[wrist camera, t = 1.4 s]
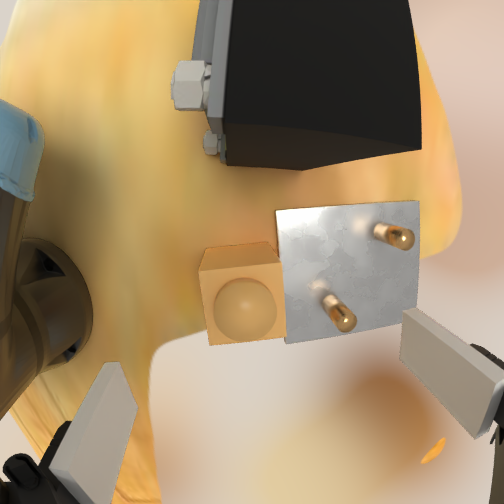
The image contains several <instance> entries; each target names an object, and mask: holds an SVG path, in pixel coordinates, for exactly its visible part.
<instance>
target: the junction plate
mask: <svg viewBox="0 0 504 504" xmlns="http://www.w3.org/2000/svg"><path fill="white" fill-rule="evenodd" d="M275 215H276V227H277V240H278V253H279V259H280V260H281V262H282V269H283V284H284V299H285V315H286V332H287V337H284V340H285V343H286V344H290V343H297V342H304V341H311V340H317V339H323V338H329V337H334V336H340V335H346V334H351V333H356V332H361V331H366V330H371V329H376V328H380V327H385V326H390V325H395V324H399V323H402V315H403V311H404V310H407V309H411V308H414V307H416V305H417V293H418V277H419V253H420V209H419V201H396V202H379V203H363V204H348V205H334V206H321V207H308V208H296V209H285V210H275ZM381 222H384V223H388V224H392V225H396V226H399V227H403V228H407V229H410V230H412V231H413V233H414V235H415V243H414V245H413V247H412V248H411V249H410V250H408V251H403V250H401V249H398V248H396V247H393V246H391V245H388V244H386V243H383V242H381V241H378V240H377V239H376V238H375V236H374V228H375V226H376V225H377V224H378V223H381ZM328 295H336V296H337V297H338V298H339V299H340V300H341V301H342V302H343V303H344V304H345V305H346V306H347V307H348V308H349V309H350V310H351V311H352V312H353V313H354V314H355V316H356V317H357V324H356V327H355V328H354V329H353V330H352V331H350V332H347V333H343V332H340V331H339V330H338V329H337V327H336V326H335V325H334V323H333V322H332V321H331V319H330V318H329V317H328V315H327V314H326V313H325V311H324V310H323V309H322V301H323V299H324V298H325V297H326V296H328Z"/></svg>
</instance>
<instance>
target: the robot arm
mask: <svg viewBox="0 0 504 504" xmlns="http://www.w3.org/2000/svg"><path fill="white" fill-rule="evenodd" d="M44 145H45V136H44V131H43V129H42V126H41V125H40V123H39V122H38V121H37V120H36V119H35V118H34V117H33V116H31V115H30V114H28V113H26V112H25V111H23V110H21V109H19V108H17V107H15V106H14V105H12V104H10V103H8V102H6V101H4V100H2V99H0V420H1V419H2V418H3V416H4V415H5V414H6V413H7V411H8V410H9V409H10V408H11V406H12V405H13V404H14V403H15V401H16V400H17V399H18V398H19V397H20V395H21V394H22V393H23V392H24V390H25V389H26V388H27V387H28V386H29V385H30V383H31V382H32V381H33V380H34V378H35V377H36V376H37V375H38V374H40V373H42V372H45V371H47V370H50V369H52V368H55V367H57V366H60V365H62V364H65V363H67V362H69V361H70V360H71V359H73V358H74V357H75V356H76V355H77V354H78V353H79V351H80V350H81V349H82V348H83V346H84V345H85V344H86V342H87V340H88V338H89V336H90V333H91V328H92V321H93V312H92V304H91V299H90V295H89V292H88V289H87V286H86V284H85V281H84V279H83V277H82V275H81V274H80V272H79V270H78V269H77V267H76V266H75V264H74V263H73V262H72V261H71V259H70V258H69V257H68V256H67V255H66V254H65V253H64V252H63V251H62V250H60V249H59V248H58V247H56V246H55V245H53V244H51V243H49V242H47V241H45V240H42V239H37V238H25V239H22V237H23V232H24V227H25V222H26V217H27V213H28V209H29V205H30V202H32V201H33V199H34V197H35V192H34V184H35V180H36V176H37V172H38V168H39V164H40V161H41V157H42V154H43V150H44ZM399 359H400V360H401V361H402V362H403V363H404V365H405V366H406V367H408V369H409V370H410V371H411V372H412V373H413V374H414V375H415V376H416V377H417V378H418V379H419V380H420V381H421V382H422V383H423V384H424V385H425V387H426V388H427V389H428V390H429V391H430V392H431V393H432V394H433V395H434V396H435V397H436V398H437V399H438V400H439V401H440V402H441V404H442V405H443V406H444V407H445V408H446V409H447V410H448V411H449V412H450V413H451V414H452V415H453V416H454V418H455V419H456V420H457V421H458V422H459V423H460V424H461V425H462V426H463V427H464V428H465V429H466V431H467V432H468V433H469V434H470V435H471V436H472V437H473V438H474V439H477V438H478V437H480V436H482V435H483V434H485V433H486V432H488V431H489V429H490V427H491V425H492V422H493V420H494V421H495V422H496V423H497V424H498V425H497V428H496V430H495V433H494V434H493V437H492V439H491V441H490V444H492V443H493V441H494V439H495V457H494V468H493V478H492V486H491V494H490V500H489V504H504V362H503V361H502V360H500V359H499V358H498V359H497V357H496V356H495V355H493V354H491V353H490V352H489V351H488V350H486V349H485V348H483V347H481V346H478V345H475V344H470V345H469V344H467V343H466V342H464V341H463V340H462V339H460V338H459V337H458V336H456V335H454V334H453V333H452V332H450V331H449V330H448V329H446V328H445V327H443V326H442V325H441V324H439V323H438V322H436V321H435V320H434V319H432V318H431V317H429V316H428V315H426V314H425V313H423V312H422V311H420V310H419V309H417V308H416V307H414V308H411V309H407V310H404V311H403V315H402V333H401V347H400V358H399ZM137 410H138V406H137V404H136V402H135V399H134V397H133V395H132V392H131V390H130V387H129V385H128V382H127V380H126V377H125V375H124V372H123V370H122V367H121V365H120V362H106V363H104V365H103V367H102V368H101V370H100V372H99V373H98V375H97V377H96V379H95V380H94V382H93V384H92V386H91V388H90V389H89V391H88V393H87V395H86V397H85V398H84V400H83V402H82V404H81V406H80V408H79V409H78V411H77V413H76V415H75V417H74V419H73V421H66V422H65V423H63V424H62V425H61V426H60V427H59V428H58V430H57V431H56V433H55V435H54V437H53V438H54V439H52V441H51V442H50V446H48V448H47V450H46V452H45V454H44V456H43V458H42V459H41V462H40V463H39V465H38V466H37V464H36V463H35V462H34V460H33V459H32V458H31V457H30V456H29V455H27V454H23V453H19V454H15V455H13V456H11V457H10V458H9V459H8V460H7V461H6V462H5V464H4V466H3V473H4V474H5V475H6V476H7V477H8V479H9V480H10V481H11V482H3V480H2V479H1V478H0V504H111V501H112V497H113V493H114V490H115V486H116V482H117V478H118V475H119V471H120V467H121V464H122V460H123V457H124V453H125V450H126V446H127V443H128V440H129V436H130V433H131V430H132V426H133V423H134V420H135V417H136V413H137Z"/></svg>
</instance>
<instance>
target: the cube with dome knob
mask: <svg viewBox="0 0 504 504" xmlns="http://www.w3.org/2000/svg"><path fill="white" fill-rule="evenodd" d="M198 274H199V281H200V288H201V295H202V301H203V308H204V314H205V320H206V327H207V333H208V339H209V344H210V345H221V344H231V343H241V342H250V341H258V340H267V339H273V338H281V337H287V332H286V315H285V299H284V284H283V269H282V262H281V260H280V259H279V257H278V256H277V255H276V253H275V252H274V250H273V249H272V248H271V246H270V245H269V243H268V242H262V243H252V244H243V245H234V246H224V247H215V248H206V250H205V253H204V256H203V259H202V262H201V265H200V267H199V270H198Z"/></svg>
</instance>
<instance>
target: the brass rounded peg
mask: <svg viewBox="0 0 504 504" xmlns="http://www.w3.org/2000/svg"><path fill="white" fill-rule="evenodd" d="M374 236H375V238H376V239H377V240H378V241H381V242H383V243H386V244H388V245H391V246H393V247H396V248H398V249H401V250H403V251H408V250H410V249H411V248H412V247H413V245H414V243H415V235H414V233H413V231H412V230H410V229H407V228H403V227H399V226H396V225H392V224H388V223H384V222H381V223H378V224H377V225H376V226H375V228H374Z"/></svg>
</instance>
